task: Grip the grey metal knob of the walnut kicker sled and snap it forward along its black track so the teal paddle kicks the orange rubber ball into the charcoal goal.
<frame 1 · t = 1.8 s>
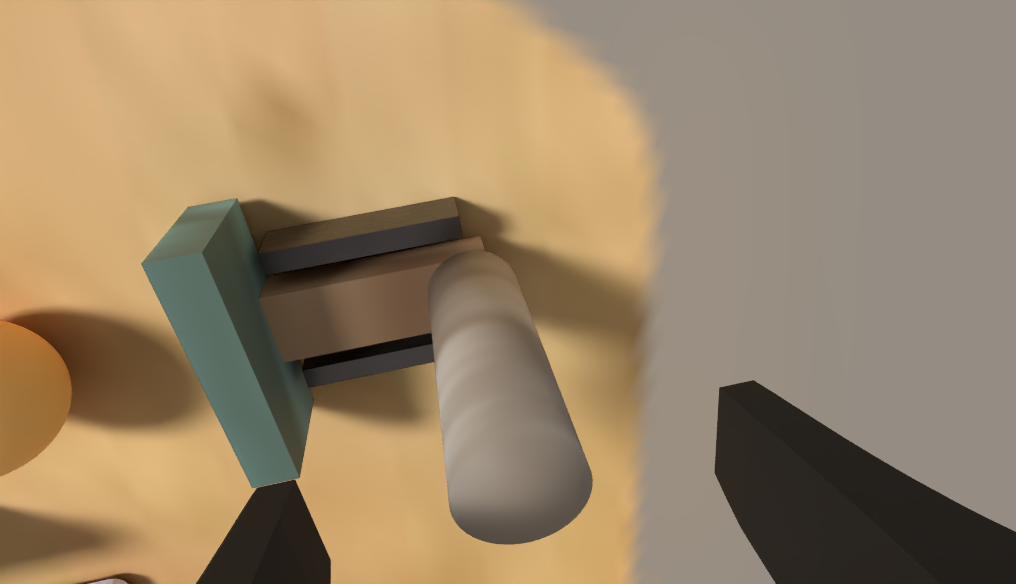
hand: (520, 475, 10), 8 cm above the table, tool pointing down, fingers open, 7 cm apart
kicker: (370, 378, 13), point 5 cm above the table, slide at 0.0 cm
track: (380, 281, 17), on the table
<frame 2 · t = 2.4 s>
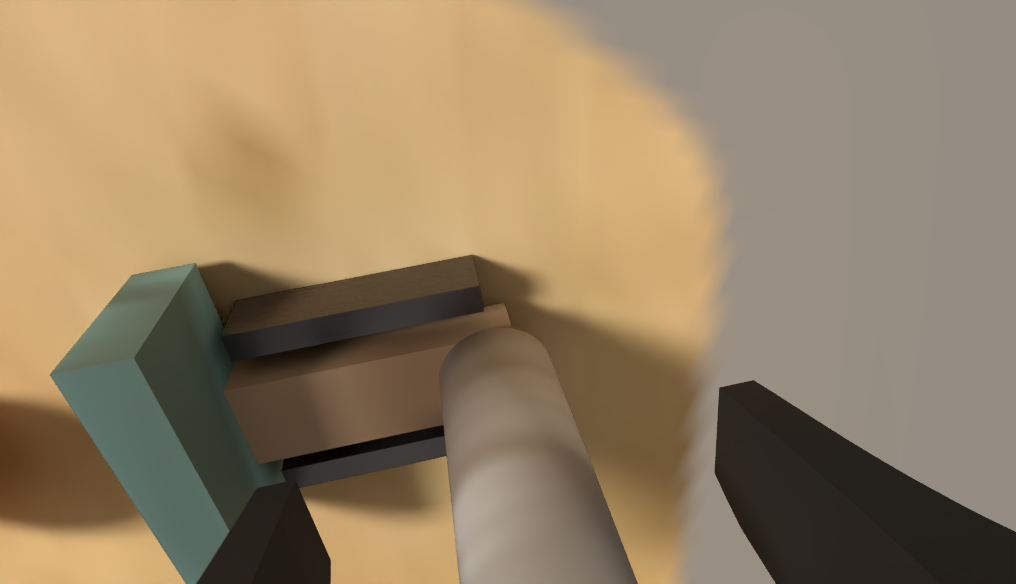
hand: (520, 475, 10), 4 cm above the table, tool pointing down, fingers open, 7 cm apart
kicker: (364, 514, 10), point 4 cm above the table, slide at 0.0 cm
track: (379, 356, 14), on the table
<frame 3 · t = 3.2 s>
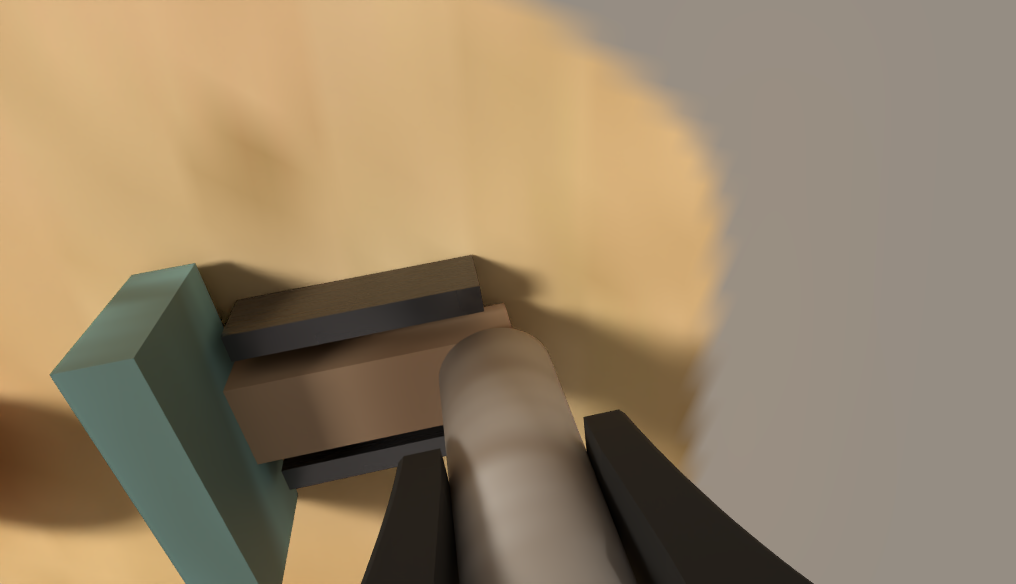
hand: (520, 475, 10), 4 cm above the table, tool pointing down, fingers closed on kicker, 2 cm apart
kicker: (364, 514, 10), point 5 cm above the table, slide at 0.0 cm, touching gripper
track: (379, 356, 14), on the table
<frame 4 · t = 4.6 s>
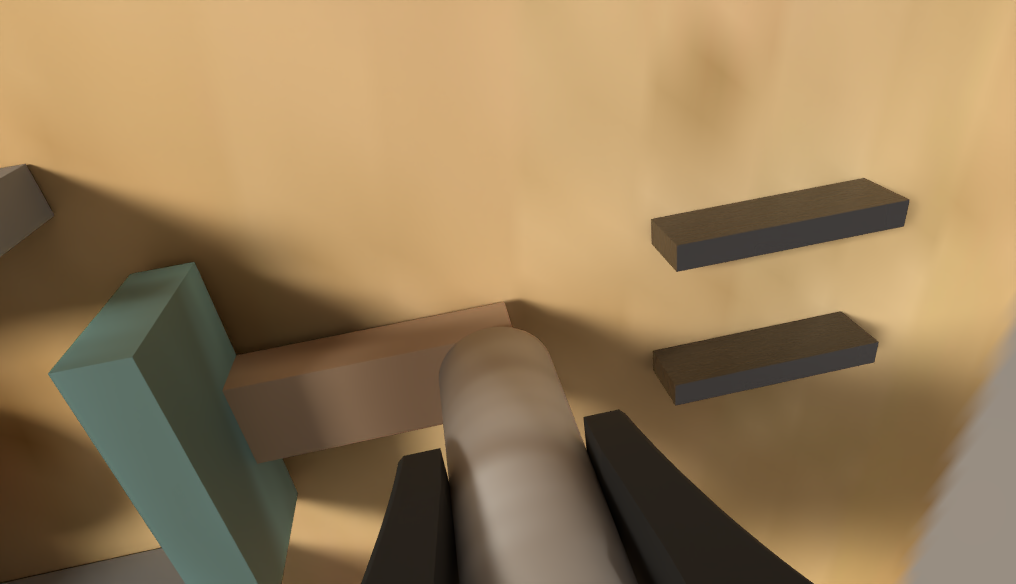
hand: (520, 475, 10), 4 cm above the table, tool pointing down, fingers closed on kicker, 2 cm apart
kicker: (364, 513, 10), point 5 cm above the table, slide at 9.0 cm, touching gripper
track: (752, 279, 14), on the table
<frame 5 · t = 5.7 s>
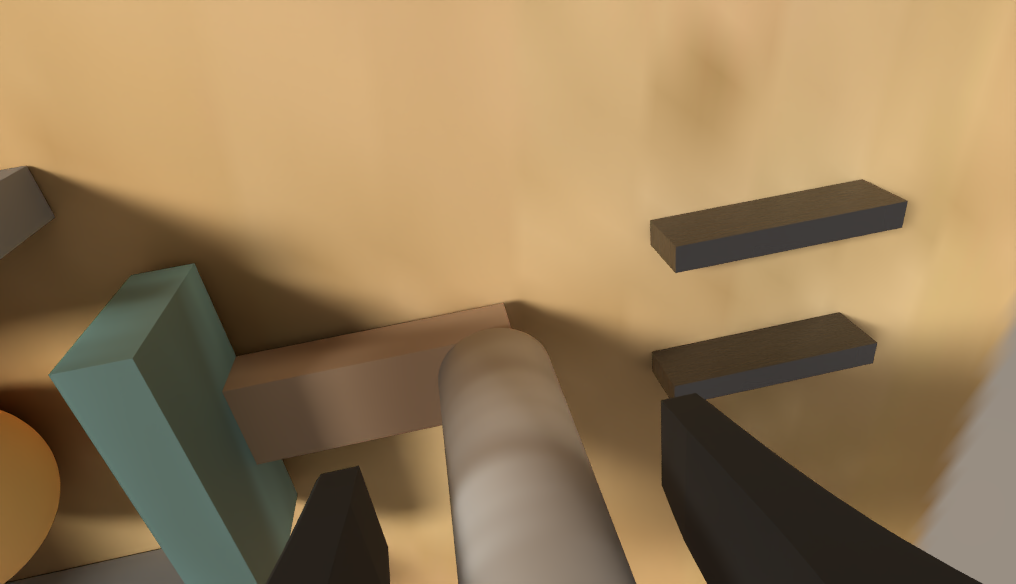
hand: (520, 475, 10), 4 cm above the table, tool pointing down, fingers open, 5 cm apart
kicker: (363, 514, 10), point 4 cm above the table, slide at 9.0 cm
track: (751, 280, 15), on the table
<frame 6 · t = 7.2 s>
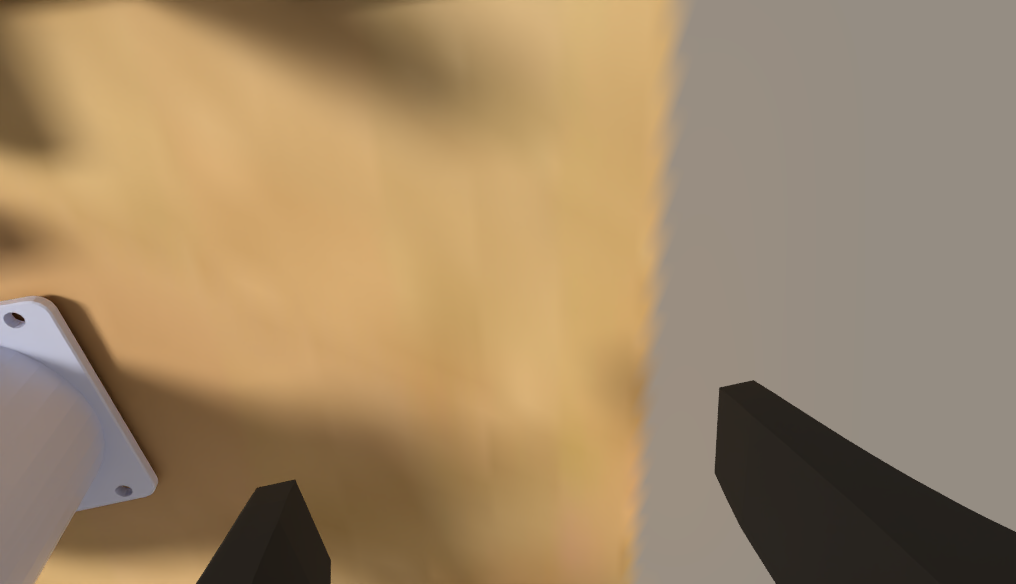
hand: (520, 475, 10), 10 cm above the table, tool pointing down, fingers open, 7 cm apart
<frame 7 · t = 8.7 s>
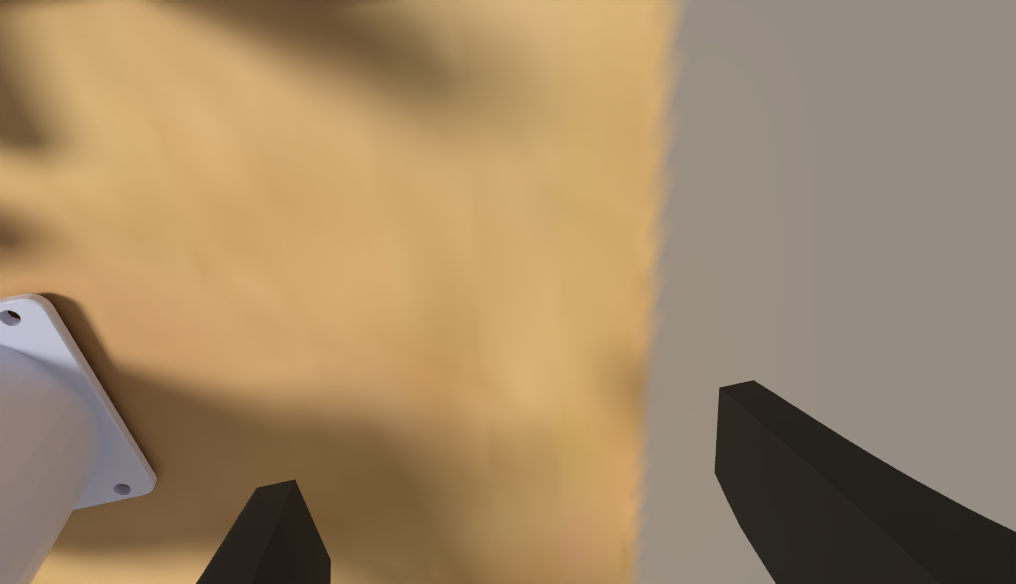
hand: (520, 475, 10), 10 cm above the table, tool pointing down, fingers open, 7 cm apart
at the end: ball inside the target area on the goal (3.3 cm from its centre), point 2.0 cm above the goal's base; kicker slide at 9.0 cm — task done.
